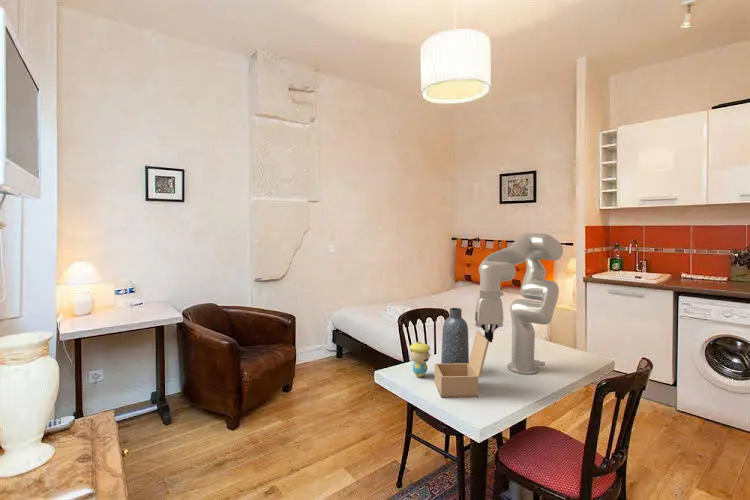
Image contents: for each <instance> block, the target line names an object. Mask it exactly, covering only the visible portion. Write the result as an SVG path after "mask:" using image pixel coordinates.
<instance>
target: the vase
mask: <svg viewBox="0 0 750 500" xmlns="http://www.w3.org/2000/svg"><path fill="white" fill-rule="evenodd" d="M462 311H463V310H462V308H460V307H451V308H449V316H448V317H447V318H446V319H445V321H444V323H443V325H442V334H441V335H442V337H441V355H440V356H441V361H440V362H441V363H440V364H453V363H469V359H470V353H469V351H470V348H469V328H468V323H467V322H466V320H465V319H464V318H463V317H462V315H463V313H462Z"/></svg>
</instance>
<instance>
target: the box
mask: <svg viewBox="0 0 750 500" xmlns="http://www.w3.org/2000/svg"><path fill="white" fill-rule="evenodd" d="M434 384H435V387H436V389H437V391H438V394H439V395H440V398H441V399H442V398H443V399H449V398H451V399H452V398H455V399H458V398H463V399H464V398H478V397H479V376H478V375H477V374H476V373H475V371H474V370H473V368H472V367H471V366H470V364H469V363H453V364H441V363H434Z"/></svg>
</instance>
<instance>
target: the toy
mask: <svg viewBox="0 0 750 500" xmlns="http://www.w3.org/2000/svg"><path fill="white" fill-rule="evenodd" d="M409 349H410V351H411V353H410V357H411V359H412V361H413V363H412V371H413V373H414V375H415V376H416V377H424V376H425V374H426V373H427V372H428V365H427V362H428V361H429V359H430V357H431V354H430V353H429V352H430V350H431V347H430V345H429V344H427V343H423V342H421V341H417V342H414V343H412V344H411V345H410V346H409Z"/></svg>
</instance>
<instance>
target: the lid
mask: <svg viewBox="0 0 750 500" xmlns="http://www.w3.org/2000/svg"><path fill="white" fill-rule="evenodd" d="M472 343H473V344H472V347H471V352H470V354H469V365H470V366H471V367H472V369H473V370H474V371H475V373H476V374H477V376H478V378H480V377H481V375H482V372H483V368H484V364H485V360H486V355H487V351H488V347H489V344H490V342H489V341H488V340H487V339H486V337H485V334H483V333H481V332H480V331H479V330H476V331H475V335H474V339H473V342H472Z"/></svg>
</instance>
